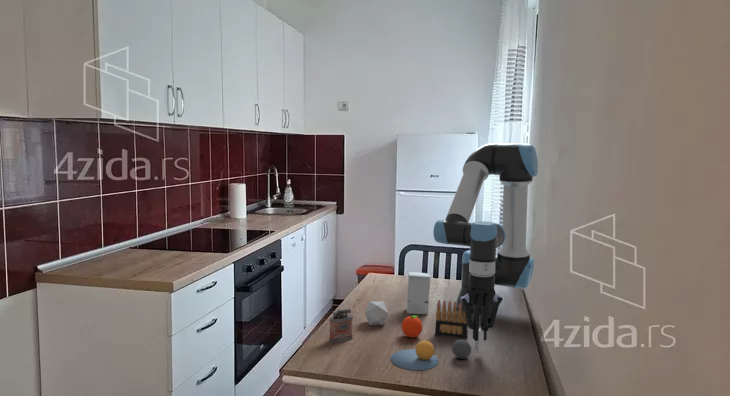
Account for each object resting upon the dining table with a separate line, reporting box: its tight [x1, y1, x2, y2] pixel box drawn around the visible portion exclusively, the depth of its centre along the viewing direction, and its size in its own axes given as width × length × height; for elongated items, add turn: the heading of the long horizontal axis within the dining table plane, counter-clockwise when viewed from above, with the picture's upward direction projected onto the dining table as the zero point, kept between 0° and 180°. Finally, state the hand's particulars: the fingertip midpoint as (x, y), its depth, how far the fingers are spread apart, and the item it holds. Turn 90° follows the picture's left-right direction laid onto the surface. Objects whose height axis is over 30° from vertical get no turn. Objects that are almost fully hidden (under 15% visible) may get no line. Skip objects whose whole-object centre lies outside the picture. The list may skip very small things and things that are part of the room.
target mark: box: [390, 348, 439, 371], centre depth 147 cm, size 14×14×1 cm
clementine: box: [401, 315, 423, 338], centre depth 165 cm, size 8×7×7 cm
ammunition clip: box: [434, 299, 468, 340], centre depth 166 cm, size 11×2×12 cm, turn 74°
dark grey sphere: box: [452, 339, 472, 360], centre depth 149 cm, size 6×6×6 cm
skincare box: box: [406, 271, 431, 315], centre depth 189 cm, size 8×6×15 cm
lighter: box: [328, 308, 354, 343], centre depth 161 cm, size 8×3×10 cm, turn 117°
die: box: [364, 301, 389, 326], centre depth 176 cm, size 8×9×10 cm
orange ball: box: [415, 340, 435, 360], centre depth 147 cm, size 6×6×6 cm
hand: (478, 350), depth 150 cm, fingers closed
